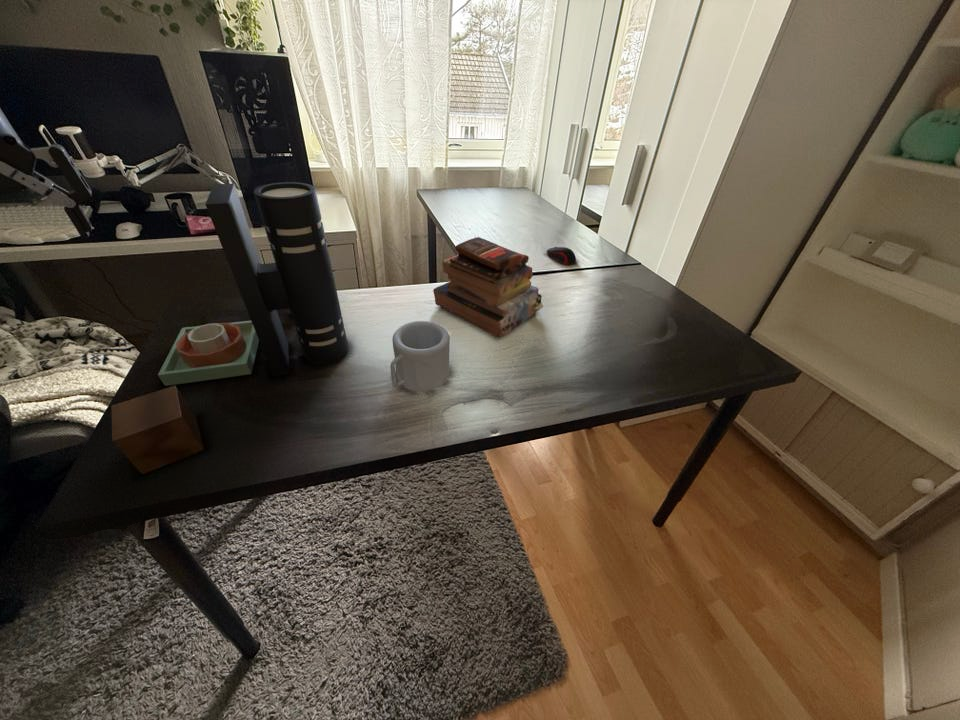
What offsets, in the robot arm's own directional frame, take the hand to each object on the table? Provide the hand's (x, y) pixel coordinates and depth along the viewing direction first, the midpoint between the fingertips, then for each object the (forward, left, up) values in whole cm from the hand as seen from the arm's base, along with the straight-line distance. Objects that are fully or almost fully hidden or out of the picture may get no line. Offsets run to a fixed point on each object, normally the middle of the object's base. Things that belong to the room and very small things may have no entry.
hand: (41, 241), depth 47 cm
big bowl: (+11, +10, -29) cm, 33 cm away
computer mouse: (+112, +7, -30) cm, 116 cm away
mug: (+42, -19, -30) cm, 55 cm away
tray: (+11, +10, -30) cm, 34 cm away
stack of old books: (+70, -6, -30) cm, 77 cm away
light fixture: (+27, 0, -30) cm, 41 cm away
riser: (+1, -11, -30) cm, 32 cm away
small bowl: (+11, +10, -29) cm, 32 cm away
